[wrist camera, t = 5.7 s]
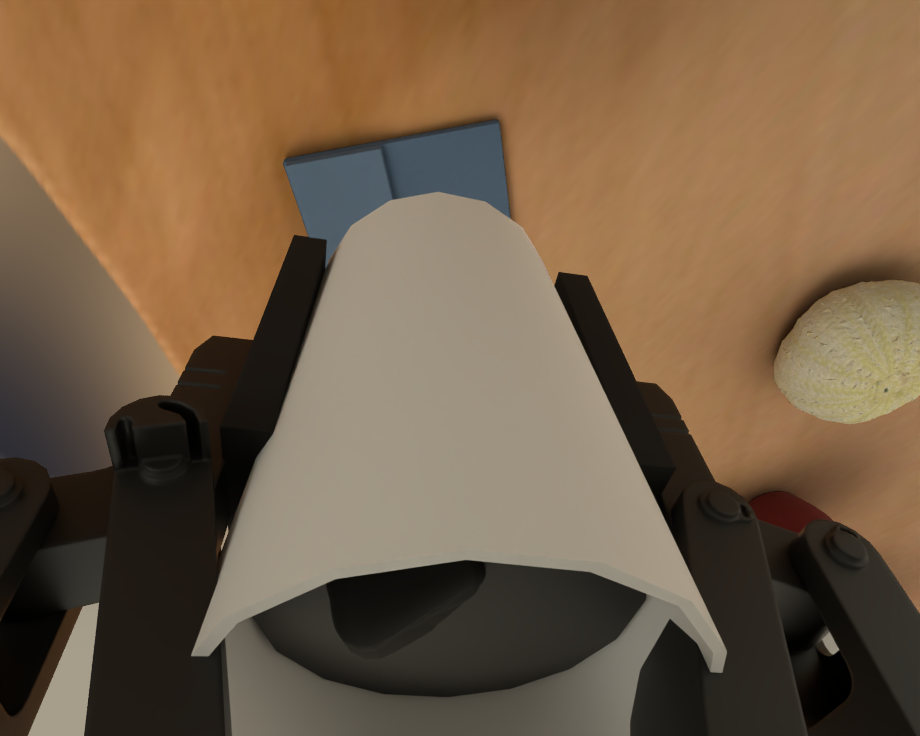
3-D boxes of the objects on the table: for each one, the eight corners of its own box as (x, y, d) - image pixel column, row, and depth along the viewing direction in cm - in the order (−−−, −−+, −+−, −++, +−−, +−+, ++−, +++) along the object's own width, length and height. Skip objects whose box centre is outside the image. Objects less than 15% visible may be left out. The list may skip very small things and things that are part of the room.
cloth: (284, 158, 27) (279, 167, 26) (498, 118, 27) (501, 126, 26) (386, 453, 40) (385, 467, 39) (534, 430, 39) (537, 443, 38)
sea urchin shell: (961, 374, 35) (923, 476, 32) (815, 353, 41) (770, 438, 38) (975, 250, 30) (931, 357, 27) (805, 245, 36) (752, 333, 32)
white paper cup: (320, 400, 17) (234, 817, 9) (288, 170, 13) (84, 560, 5) (547, 397, 18) (654, 794, 10) (583, 175, 13) (820, 539, 6)
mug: (676, 545, 48) (726, 670, 40) (695, 478, 43) (757, 606, 35) (804, 535, 48) (880, 658, 40) (838, 467, 43) (932, 592, 35)
